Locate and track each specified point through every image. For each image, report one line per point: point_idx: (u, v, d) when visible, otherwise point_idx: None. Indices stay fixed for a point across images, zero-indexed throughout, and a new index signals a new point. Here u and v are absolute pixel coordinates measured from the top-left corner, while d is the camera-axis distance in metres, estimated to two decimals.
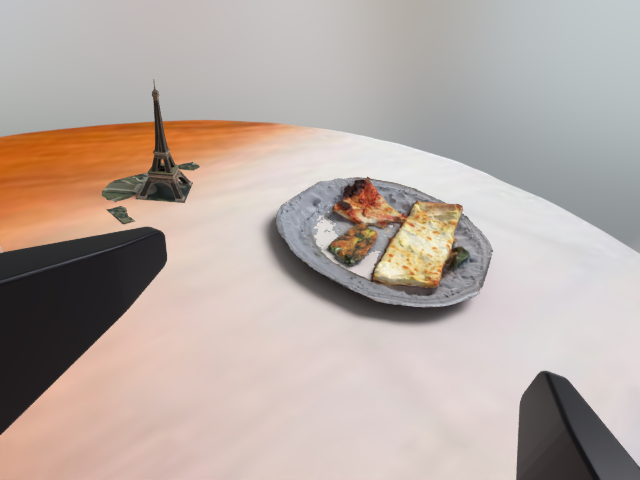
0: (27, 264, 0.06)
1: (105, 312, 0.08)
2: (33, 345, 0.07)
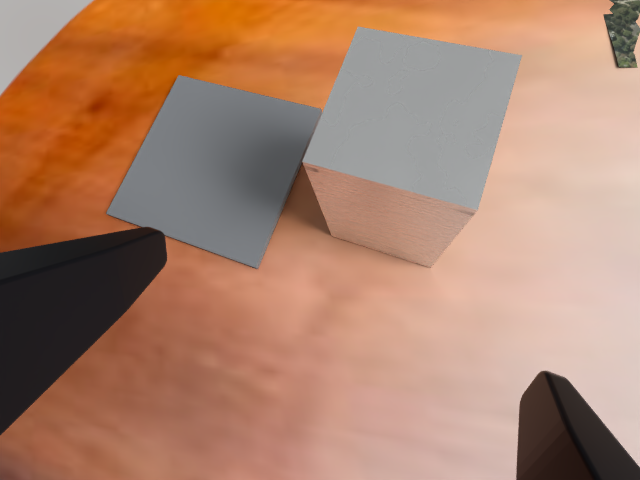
0: (27, 264, 0.06)
1: (105, 312, 0.08)
2: (33, 345, 0.07)
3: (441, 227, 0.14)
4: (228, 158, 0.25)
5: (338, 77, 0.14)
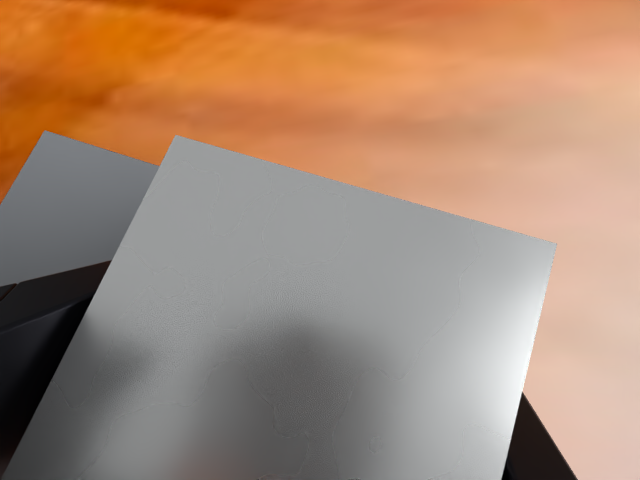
0: (79, 287, 0.06)
1: None
2: None
3: None
4: (96, 263, 0.17)
5: (111, 266, 0.06)
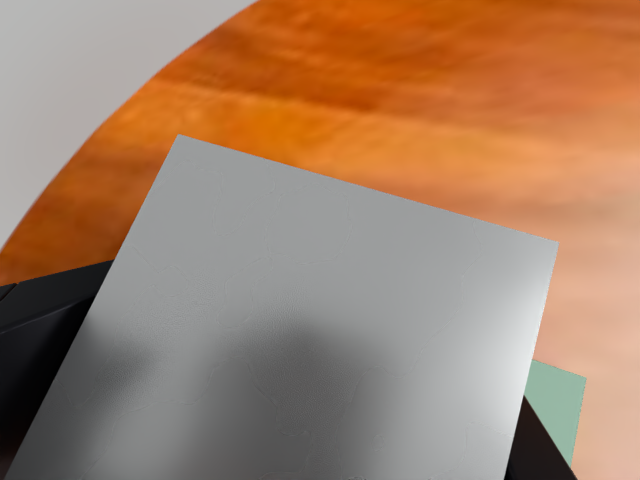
0: (80, 287, 0.06)
1: None
2: None
3: None
4: None
5: (114, 265, 0.06)
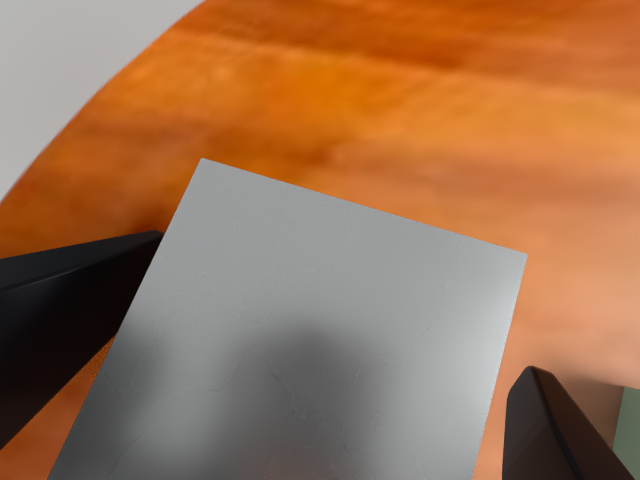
0: (37, 268, 0.06)
1: (114, 316, 0.08)
2: (43, 350, 0.07)
3: None
4: None
5: (148, 273, 0.07)
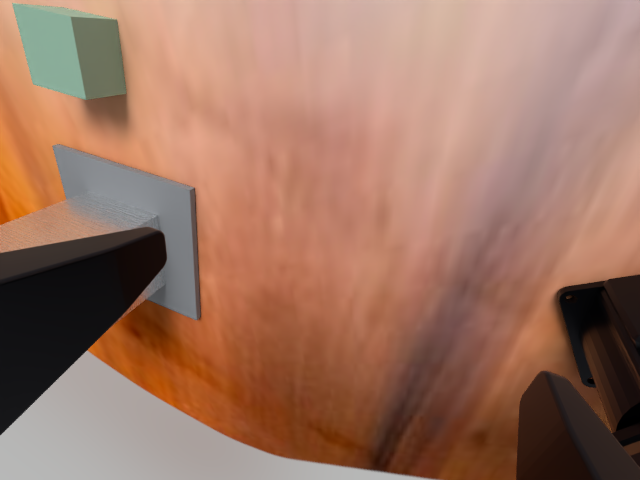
0: (27, 264, 0.06)
1: (105, 312, 0.08)
2: (33, 345, 0.07)
3: None
4: None
5: None
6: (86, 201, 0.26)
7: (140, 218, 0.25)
